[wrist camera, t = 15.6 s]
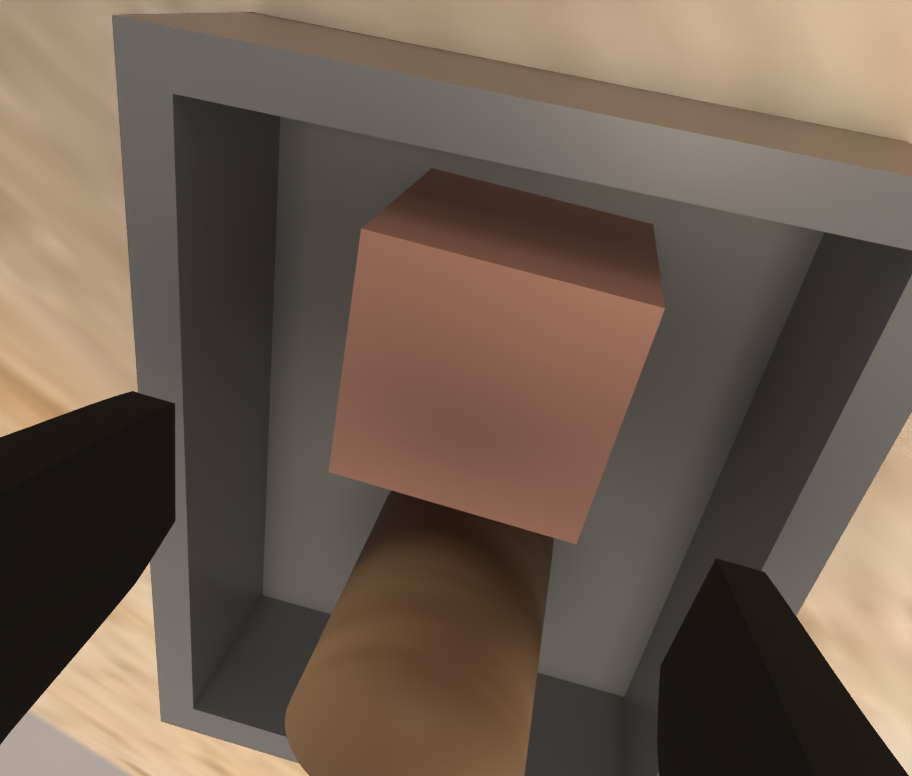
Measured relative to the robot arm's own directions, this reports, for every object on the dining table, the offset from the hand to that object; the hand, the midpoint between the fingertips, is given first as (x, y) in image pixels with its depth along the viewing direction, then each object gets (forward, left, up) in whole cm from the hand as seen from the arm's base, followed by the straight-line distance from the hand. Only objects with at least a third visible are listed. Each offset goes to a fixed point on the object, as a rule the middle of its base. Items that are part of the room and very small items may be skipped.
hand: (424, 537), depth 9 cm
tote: (0, -4, -9) cm, 10 cm away
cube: (0, 0, -9) cm, 9 cm away
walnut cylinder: (0, -7, -9) cm, 11 cm away
